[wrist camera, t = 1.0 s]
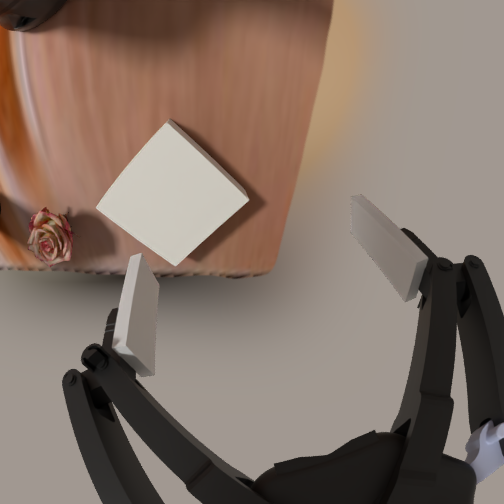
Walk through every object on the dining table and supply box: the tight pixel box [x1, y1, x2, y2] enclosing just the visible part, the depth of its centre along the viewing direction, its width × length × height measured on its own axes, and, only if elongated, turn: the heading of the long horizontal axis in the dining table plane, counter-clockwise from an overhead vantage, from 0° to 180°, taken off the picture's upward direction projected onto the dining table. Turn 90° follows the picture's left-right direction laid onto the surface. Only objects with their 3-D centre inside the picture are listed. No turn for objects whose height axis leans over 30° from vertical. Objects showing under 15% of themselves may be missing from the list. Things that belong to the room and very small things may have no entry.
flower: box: [27, 207, 80, 267], centre depth 34 cm, size 10×9×8 cm
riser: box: [96, 119, 249, 266], centre depth 38 cm, size 16×16×4 cm
